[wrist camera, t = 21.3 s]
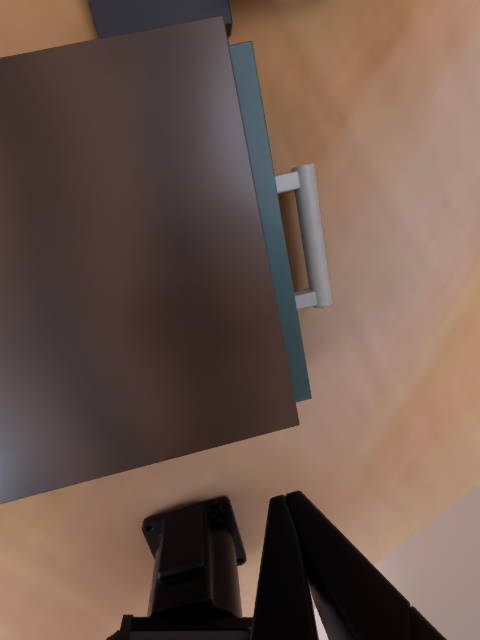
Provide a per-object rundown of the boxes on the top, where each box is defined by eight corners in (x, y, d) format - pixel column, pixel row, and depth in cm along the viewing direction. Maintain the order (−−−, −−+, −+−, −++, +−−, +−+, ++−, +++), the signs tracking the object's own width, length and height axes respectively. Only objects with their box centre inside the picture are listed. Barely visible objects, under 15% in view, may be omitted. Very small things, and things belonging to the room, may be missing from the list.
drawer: (287, 69, 15) (309, 28, 12) (329, 363, 20) (352, 388, 17) (-106, 150, 14) (-193, 128, 11) (38, 438, 19) (6, 478, 16)
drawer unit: (216, 86, 15) (223, 13, 10) (275, 376, 20) (299, 425, 15) (-128, 156, 15) (-309, 117, 9) (20, 440, 20) (-45, 516, 14)
